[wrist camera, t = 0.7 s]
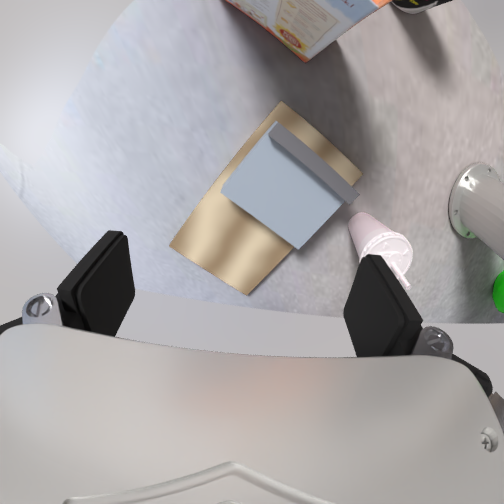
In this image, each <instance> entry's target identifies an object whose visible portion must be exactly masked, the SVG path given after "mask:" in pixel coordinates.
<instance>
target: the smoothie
mask: <svg viewBox="0 0 504 504" xmlns="http://www.w3.org/2000/svg"><path fill="white" fill-rule="evenodd" d="M348 228H349V232H350V234H351V237H352V240H353V242H354V245H355V248H356V250H357V253H358V256H359V259H360V260H359V264H360V261H361V259H362V257H365V256H366V255H367V254H374V255H381V256H382V257H383V259H384V260H385V262H386V263H387V265H388V266H389V268H390V269H391V270H392V272H393V273H394V275H395V276H396V278H397V279H398V280H399V279H400V280H401V282H402V283H403V285H404V286H405V288H406V289H407V290H409V289H410V288H411V285H410V284H409V282H408V281H407V279H406V278H405V277H404V274H405V273H406V272H407V270H408V269H409V267H410V265H411V262H412V258H413V250H412V247H411V245H410V243H409V242H408V241H407V239H406V238H405V237H404V236H403V235H402V234H400V233H397V232H393V231H392V230H391V229H389V228H388V227H386V226H385V225H384V224H382V223H381V222H379V221H378V220H376V219H375V218H374V217H372V216H371V215H369V214H368V213H365V212H360V213H357V214H355V215H354V216H353V217H352V218H351V219H350V221H349V224H348Z"/></svg>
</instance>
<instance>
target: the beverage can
mask: <svg viewBox="0 0 504 504" xmlns="http://www.w3.org/2000/svg"><path fill="white" fill-rule="evenodd" d="M449 1H452V0H392V1H391V2H392V3H393V4H394V5H395V6H396V7H398V8H399V9H400V10H402V11H404V12H407V13H410V14H416V13H419V12H422V11H424V10H427V9H430V8H432V7H435V6H438V5H441V4H443V3H446V2H449Z"/></svg>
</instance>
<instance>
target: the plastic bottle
mask: <svg viewBox="0 0 504 504" xmlns="http://www.w3.org/2000/svg"><path fill="white" fill-rule="evenodd" d="M493 287H494V289H493V300H494V303H495V306H496V308H497V309H498V311H500V312H502V313H504V271H503V272H502V273H500V274H499V275H498V277H497V279H496V280H495V283H494V286H493Z"/></svg>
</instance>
